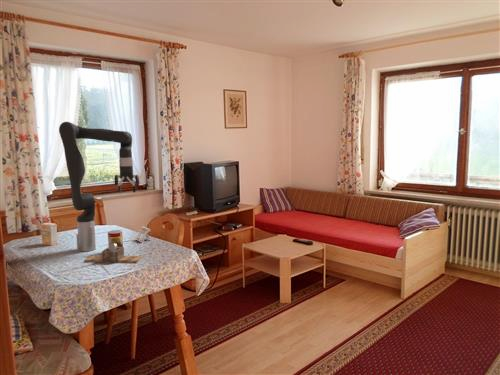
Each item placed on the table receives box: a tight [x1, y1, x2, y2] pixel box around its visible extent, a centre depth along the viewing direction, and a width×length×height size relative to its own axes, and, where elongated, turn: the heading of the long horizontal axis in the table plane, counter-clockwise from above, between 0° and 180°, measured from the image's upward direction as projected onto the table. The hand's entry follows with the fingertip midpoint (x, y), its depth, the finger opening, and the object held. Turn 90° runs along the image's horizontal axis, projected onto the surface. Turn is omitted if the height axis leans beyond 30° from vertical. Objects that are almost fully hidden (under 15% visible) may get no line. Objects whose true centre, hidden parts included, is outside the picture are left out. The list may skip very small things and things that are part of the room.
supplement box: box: [40, 222, 59, 247], centre depth 241 cm, size 8×5×13 cm, turn 68°
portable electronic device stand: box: [134, 226, 151, 243], centre depth 248 cm, size 9×8×8 cm
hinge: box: [84, 246, 143, 264], centre depth 209 cm, size 28×8×6 cm, turn 86°
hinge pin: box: [108, 243, 117, 251], centre depth 208 cm, size 4×4×9 cm
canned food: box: [107, 229, 124, 247], centre depth 223 cm, size 8×8×12 cm
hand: (127, 192), depth 233 cm, fingers open, 8 cm apart
